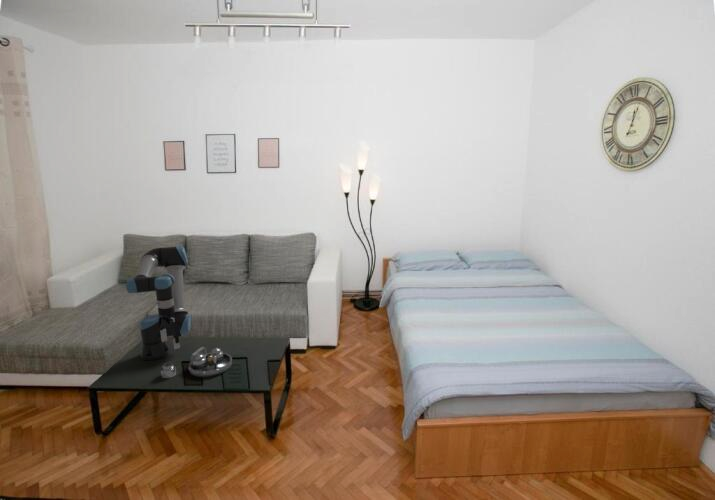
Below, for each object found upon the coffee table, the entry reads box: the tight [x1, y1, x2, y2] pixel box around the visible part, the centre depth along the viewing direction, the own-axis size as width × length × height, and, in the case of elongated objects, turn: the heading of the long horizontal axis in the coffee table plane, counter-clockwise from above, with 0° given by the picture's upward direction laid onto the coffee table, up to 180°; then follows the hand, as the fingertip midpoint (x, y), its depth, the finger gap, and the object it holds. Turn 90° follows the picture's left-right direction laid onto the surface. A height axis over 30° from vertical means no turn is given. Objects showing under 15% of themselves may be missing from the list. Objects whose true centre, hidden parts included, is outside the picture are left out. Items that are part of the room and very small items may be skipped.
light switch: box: [190, 346, 207, 367], centre depth 220 cm, size 2×12×8 cm, turn 168°
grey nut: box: [160, 361, 177, 379], centre depth 209 cm, size 7×7×6 cm
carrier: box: [188, 347, 233, 378], centre depth 216 cm, size 22×22×8 cm
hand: (170, 344), depth 206 cm, fingers open, 13 cm apart
